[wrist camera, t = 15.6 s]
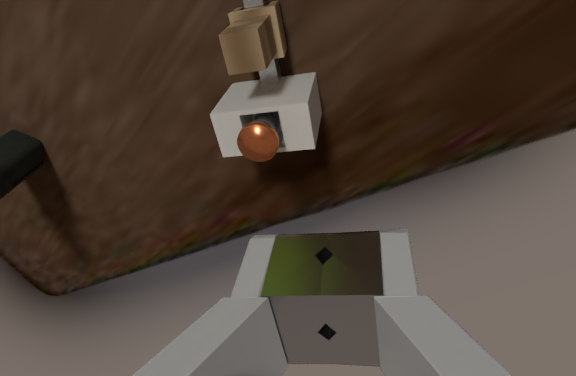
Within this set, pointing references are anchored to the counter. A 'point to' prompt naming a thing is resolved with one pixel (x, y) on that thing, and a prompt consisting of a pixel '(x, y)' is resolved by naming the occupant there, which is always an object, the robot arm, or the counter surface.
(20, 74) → the counter surface
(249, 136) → the plunger
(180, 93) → the counter surface
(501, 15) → the counter surface
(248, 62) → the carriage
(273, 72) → the rail
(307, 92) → the housing
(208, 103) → the counter surface
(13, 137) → the candle
